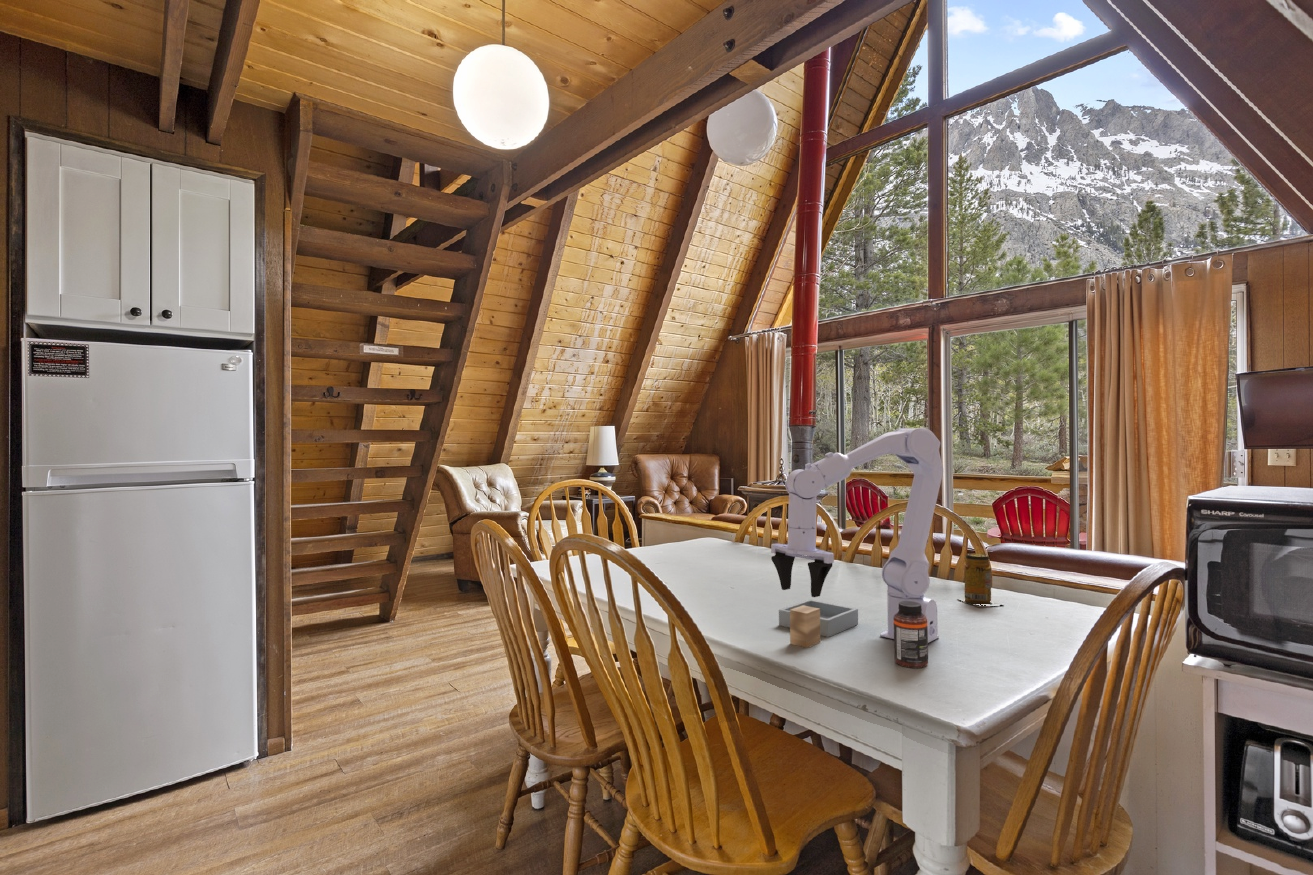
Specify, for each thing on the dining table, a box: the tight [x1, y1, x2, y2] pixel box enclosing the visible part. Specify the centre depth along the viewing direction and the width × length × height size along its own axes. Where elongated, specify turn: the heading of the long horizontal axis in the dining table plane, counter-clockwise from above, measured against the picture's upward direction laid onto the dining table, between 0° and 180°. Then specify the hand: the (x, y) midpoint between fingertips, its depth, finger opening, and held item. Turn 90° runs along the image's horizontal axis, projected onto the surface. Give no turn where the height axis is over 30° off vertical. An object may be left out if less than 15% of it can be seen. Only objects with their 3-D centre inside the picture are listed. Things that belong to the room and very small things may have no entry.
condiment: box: [962, 552, 1000, 608], centre depth 166 cm, size 7×8×12 cm
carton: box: [789, 605, 821, 649], centre depth 136 cm, size 4×5×7 cm
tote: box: [778, 599, 859, 638], centre depth 149 cm, size 13×13×4 cm
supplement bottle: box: [893, 601, 929, 669], centre depth 123 cm, size 6×6×11 cm
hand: (800, 592), depth 137 cm, fingers open, 7 cm apart
